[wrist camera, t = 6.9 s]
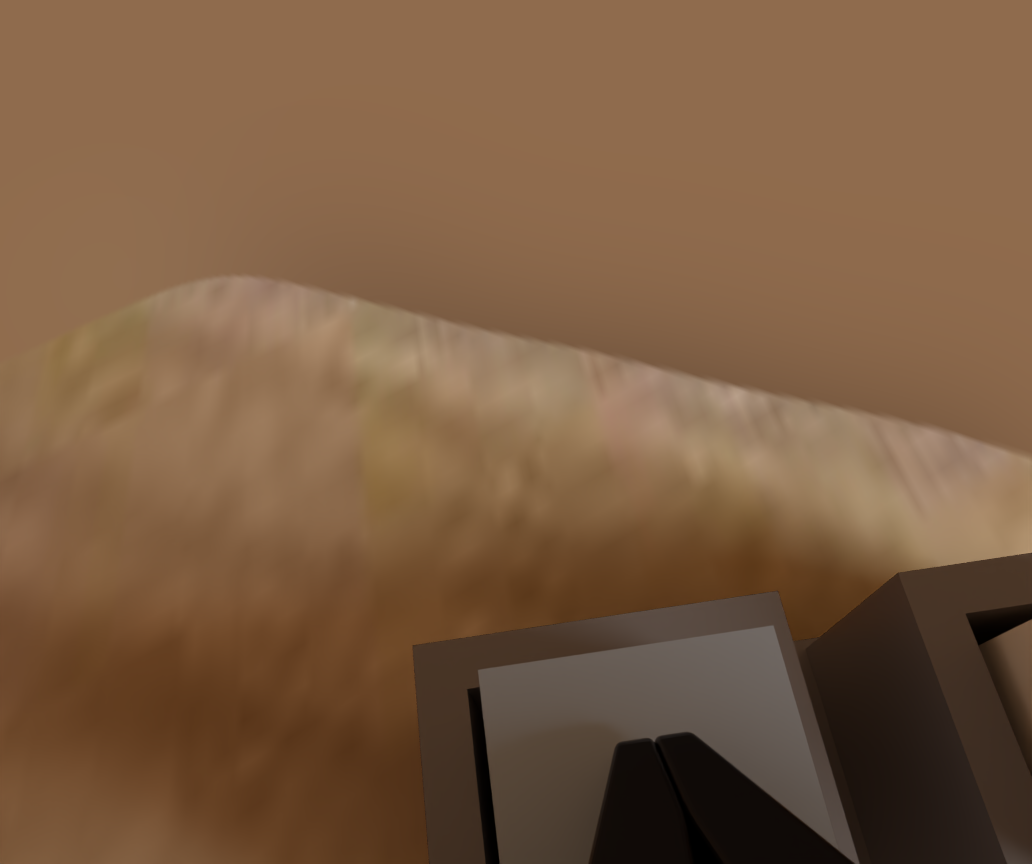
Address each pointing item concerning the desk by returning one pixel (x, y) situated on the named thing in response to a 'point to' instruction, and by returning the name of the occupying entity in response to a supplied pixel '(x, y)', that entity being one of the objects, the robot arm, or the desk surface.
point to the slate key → (636, 732)
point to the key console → (822, 708)
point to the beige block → (1014, 680)
